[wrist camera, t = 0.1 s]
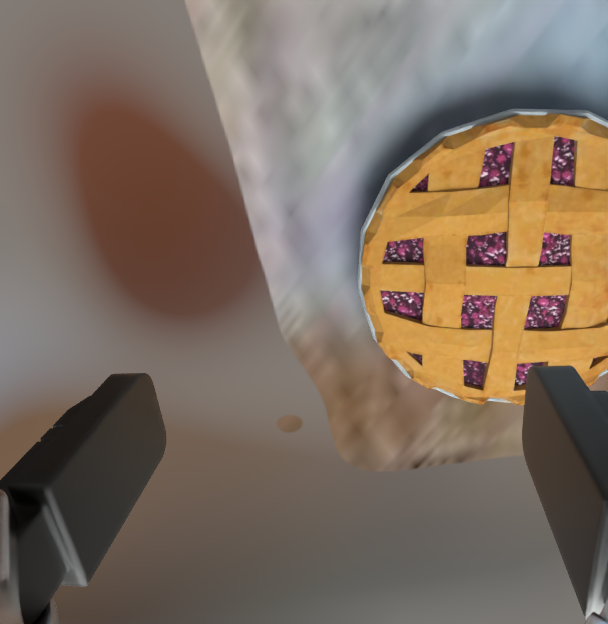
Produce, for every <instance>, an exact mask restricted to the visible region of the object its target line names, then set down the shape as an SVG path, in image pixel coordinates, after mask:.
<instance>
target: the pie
mask: <svg viewBox="0 0 608 624" xmlns="http://www.w3.org/2000/svg"><path fill="white" fill-rule="evenodd" d="M357 289H358V292H359V295H360V299H361V302H362V305H363V308H364V311H365V314H366V318H367V321H368V324H369V327H370V330H371V333H372V337H373V339H374V340H375V341H376V342H377V343H378V345H379V346H380V347H381V348H382V350H383V351H384V352H385V354H386V355H387V356H388V358H389V359H391V360H392V361H393V362H394V363H395V364H396V365H397V367H398V368H399V369H400V370H401V371H402V372H403V373H404V375H405V376H407V377H409V378H411V379H412V380H414V381H416V382H418V383H420V384H421V385H423V386H425V387H427V388H429V389H432V388H434V389H436V390H438V391H440V392H443V393H445V394H447V395H449V396H452V397H454V398H460V399H461V400H464V401H468V402H472V403H476V404H480V405H483V404H484V403H485V402H486V401H496V402H507V403H514V404H517V405H524V403H525V391H526V379H527V372H528V369H529V368H530V367H531V366H567V365H571V366H573V367H574V368H575V369H576V371H577V372H578V374H579V375H580V376H581V378H582V379H583V381H584V382H585V384H586V385H587V387H588V386H590V385H592V384H594V383H595V381H596V380H597V378H598V377H600V376H602V375H604V374H606V373H608V120H606V119H604V118H602V117H600V116H598V115H596V114H594V113H592V112H590V111H588V110H555V109H509V110H506V111H503V112H500V113H497V114H494V115H491V116H488V117H485V118H482V119H479V120H476V121H473V122H470V123H467V124H464V125H461V126H458V127H455V128H452V129H448V130H445V131H442V132H441V133H439V134H438V135H437V136H436V137H434V138H433V139H432V140H431V141H429V142H428V143H427V144H426V145H424V146H423V147H422V148H421V149H419V150H418V151H417V152H416V153H415V154H413V155H412V156H411V157H410V158H408V159H407V160H406V161H405V162H403V163H402V164H401V165H400V166H398V167H397V168H396V169H395V170H393V171H392V172H391V173H390V174H388V176H387V178H386V180H385V182H384V184H383V186H382V188H381V190H380V192H379V194H378V196H377V198H376V200H375V203H374V205H373V207H372V209H371V211H370V213H369V215H368V217H367V219H366V221H365V223H364V225H363V227H362V229H361V235H360V251H359V266H358V282H357Z"/></svg>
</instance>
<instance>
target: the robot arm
mask: <svg viewBox="0 0 608 624" xmlns="http://www.w3.org/2000/svg"><path fill="white" fill-rule="evenodd" d="M522 442H523V451H524V456H525V460H526V463H527V466H528V469H529V472H530V474H531V477H532V479H533V482H534V485H535V487H536V490H537V493H538V495H539V498H540V501H541V503H542V506H543V508H544V511H545V514H546V516H547V519H548V522H549V524H550V527H551V530H552V532H553V535H554V537H555V540H556V542H557V545H558V548H559V550H560V553H561V556H562V558H563V561H564V564H565V566H566V569H567V571H568V574H569V577H570V579H571V582H572V585H573V587H574V590H575V592H576V595H577V598H578V601H579V603H580V606H581V608H582V611H583V614H584V616H585V618H586V619H587V620H586V622H585V623H584V624H608V392H606V391H590V390H589V388H588V387H587V385H586V384H585V382H584V381H583V379H582V378H581V376H580V375H579V374H578V372H577V371H576V369H575V368H574V367H573V366H571V365H567V366H531V367H530V368H529V369H528V372H527V379H526V391H525V403H524V416H523V428H522ZM165 446H166V431H165V426H164V423H163V419H162V415H161V411H160V407H159V404H158V400H157V397H156V392H155V389H154V385H153V382H152V379H151V377H150V376H149V375H148V374H146V373H129V374H128V373H127V374H112V375H110V376H109V377H108V378H107V379H106V380H105V381H104V383H103V384H102V385H101V386H100V387H99V388H98V389H97V390H96V391H95V392H94V393H93V394H92V395H91V396H89V397H87V398H86V399H84V400H83V401H81V402H80V403H78V404H76V405H75V406H73V407H72V408H70V409H69V410H67V412H66V413H65V414H64V415H63V416H62V417H61V418H60V419H59V420H58V421H57V422H56V423H55V424H54V425H53V429H51V428H50V429H49V430H48V431H47V432H46V434H45V435H43V437H41V442H37V443H36V444H35V445H34V446H33V447H32V448H31V449H30V450H29V451H28V452H27V453H26V454H25V455H24V456H23V457H22V458H21V459H20V461H19V462H17V464H16V465H15V466H14V467H13V468H12V469H11V470H10V471H9V472H8V473H7V474H6V475H5V476H4V477H3V478H2V479H1V480H0V624H58V615H57V608H56V604H55V602H54V600H53V598H52V597H53V595H54V593H55V592H56V591H57V589H58V588H59V586H60V585H70V586H87V585H88V583H89V582H90V580H91V578H92V576H93V575H94V573H95V571H96V570H97V568H98V566H99V565H100V563H101V561H102V559H103V558H104V556H105V554H106V553H107V551H108V549H109V547H110V546H111V544H112V542H113V541H114V539H115V537H116V536H117V534H118V532H119V530H120V529H121V527H122V525H123V524H124V522H125V520H126V519H127V517H128V515H129V513H130V512H131V510H132V508H133V506H134V505H135V503H136V501H137V500H138V498H139V496H140V495H141V493H142V491H143V489H144V488H145V486H146V485H147V483H148V481H149V479H150V478H151V476H152V474H153V473H154V471H155V469H156V468H157V466H158V464H159V462H160V461H161V459H162V457H163V454H164V451H165Z"/></svg>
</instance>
